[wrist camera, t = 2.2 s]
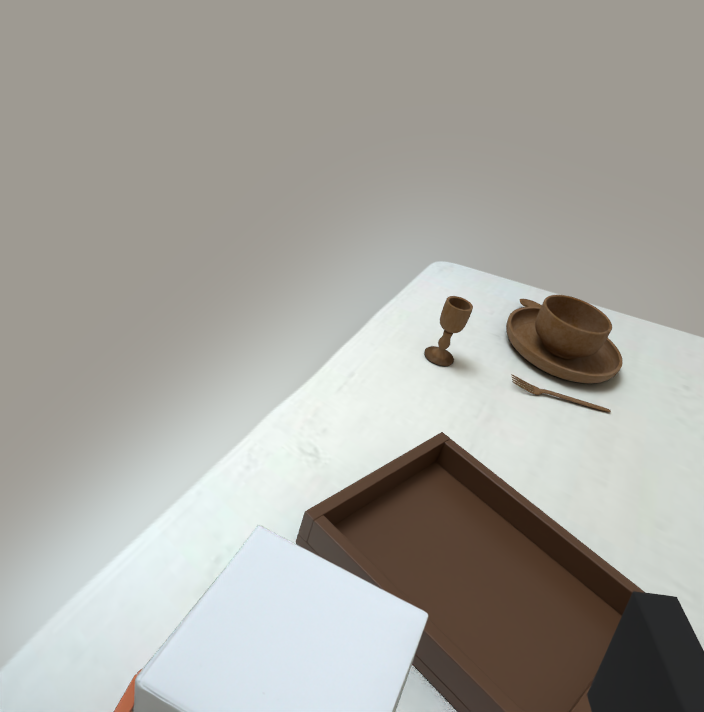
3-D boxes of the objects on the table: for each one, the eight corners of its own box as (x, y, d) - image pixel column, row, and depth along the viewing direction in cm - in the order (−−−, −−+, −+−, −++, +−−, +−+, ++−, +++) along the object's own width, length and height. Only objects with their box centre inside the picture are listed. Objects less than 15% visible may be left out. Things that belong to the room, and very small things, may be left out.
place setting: (634, 423, 60) (666, 372, 57) (423, 364, 60) (444, 310, 56) (597, 326, 75) (621, 281, 72) (427, 278, 74) (444, 230, 71)
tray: (295, 542, 40) (304, 511, 39) (430, 459, 50) (442, 431, 48) (533, 790, 32) (557, 764, 30) (642, 634, 41) (665, 607, 39)
